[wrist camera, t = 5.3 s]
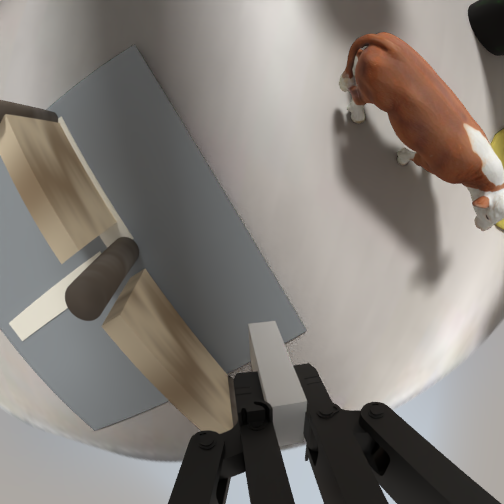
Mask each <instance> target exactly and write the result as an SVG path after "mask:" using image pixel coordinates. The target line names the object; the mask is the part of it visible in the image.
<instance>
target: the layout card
mask: <svg viewBox="0 0 504 504" xmlns="http://www.w3.org/2000/svg"><path fill="white" fill-rule="evenodd" d="M46 110H48V111H52V112H55V113H56V114H57V116H58V123H60V125H61V127H62V129H63V131H64V133H65V135H66V136H67V138H68V140H69V142H70V144H71V146H72V147H73V149H74V151H75V153H76V155H77V156H78V158H79V160H80V162H81V164H82V165H83V167H84V169H85V171H86V172H87V174H88V176H89V177H90V179H91V181H92V182H93V184H94V186H95V187H96V189H97V191H98V192H99V194H100V196H101V197H102V199H103V201H104V202H105V204H106V206H107V207H108V209H109V210H110V212H111V213H112V215H113V217H114V218H115V220H116V221H117V223H115V224H114V225H112V226H111V227H110V228H108V229H107V230H106V231H104V232H103V233H102V234H100V235H99V236H98V237H96V238H95V239H94V240H92V241H91V242H90V243H88V244H87V245H86V246H84V247H83V248H82V249H81V250H79V251H78V252H77V253H75V254H74V255H73V256H72V257H70V258H69V259H68V260H66V261H65V262H64V263H63V264H61V263H60V261H59V260H58V258H57V257H56V255H55V254H54V252H53V251H52V249H51V247H50V246H49V244H48V243H47V241H46V239H45V238H44V236H43V235H42V233H41V231H40V230H39V228H38V226H37V225H36V223H35V221H34V219H33V218H32V216H31V214H30V212H29V211H28V209H27V207H26V205H25V203H24V202H23V200H22V198H21V196H20V194H19V192H18V190H17V188H16V186H15V184H14V182H13V181H12V179H11V176H10V174H9V172H8V170H7V168H6V166H5V164H4V162H3V160H2V158H1V155H0V329H1V330H2V332H3V333H4V334H5V336H6V337H7V338H8V340H9V341H10V342H11V343H12V345H13V346H14V347H15V349H16V350H17V351H18V352H19V354H20V355H21V356H22V357H23V358H24V360H25V361H26V362H27V363H28V364H29V365H30V367H31V368H32V369H33V370H34V371H35V372H36V373H37V375H38V376H39V377H40V378H41V379H42V380H43V381H44V382H45V383H46V384H47V386H48V387H49V388H50V389H51V390H52V391H53V392H54V393H55V394H56V395H57V396H58V397H59V398H60V399H61V400H62V401H63V402H64V403H65V404H66V405H67V406H68V407H69V408H70V409H71V410H72V411H73V412H74V413H75V414H77V415H78V416H79V417H80V418H81V419H82V420H83V421H84V422H85V423H86V424H88V425H89V426H90V427H91V428H92V429H93V430H94V431H95V430H98V429H100V428H103V427H106V426H109V425H111V424H114V423H116V422H119V421H122V420H124V419H127V418H129V417H132V416H134V415H137V414H139V413H142V412H144V411H146V410H149V409H151V408H154V407H156V406H158V405H161V404H163V403H165V402H168V401H169V400H168V399H167V398H166V397H165V396H164V395H163V394H162V393H161V392H160V391H159V390H158V389H157V388H156V387H155V386H154V385H153V384H152V383H151V382H150V381H149V380H148V379H147V378H146V377H145V376H144V375H143V374H142V373H141V372H140V370H139V369H138V368H137V367H136V366H135V365H134V364H133V363H132V362H131V361H130V359H129V358H128V357H127V356H126V355H125V354H124V353H123V352H122V350H121V349H120V348H119V347H118V346H117V345H116V343H115V342H114V341H113V340H112V339H111V337H110V336H109V335H108V334H107V333H106V331H105V330H104V329H103V328H102V324H103V322H104V321H105V319H106V317H107V316H108V314H109V312H110V310H111V309H112V307H113V305H114V304H115V302H116V300H117V299H118V297H119V295H120V294H121V292H122V290H123V289H124V287H125V285H126V284H127V282H128V281H129V279H130V278H131V277H132V276H134V275H135V274H137V273H139V272H140V271H142V270H143V269H146V270H147V272H148V273H149V274H150V276H151V277H152V279H153V280H154V281H155V283H156V284H157V286H158V287H159V288H160V290H161V291H162V292H163V294H164V295H165V297H166V298H167V299H168V301H169V302H170V303H171V305H172V306H173V307H174V309H175V310H176V311H177V313H178V314H179V315H180V317H181V318H182V319H183V320H184V322H185V323H186V324H187V326H188V327H189V328H190V329H191V331H192V332H193V333H194V335H195V336H196V337H197V338H198V340H199V341H200V342H201V343H202V345H203V346H204V347H205V348H206V350H207V351H208V352H209V353H210V354H211V356H212V357H213V358H214V359H215V361H216V362H217V363H218V364H219V365H220V366H221V368H222V369H223V370H224V371H225V372H226V374H227V373H229V372H231V371H233V370H235V369H237V368H239V367H241V366H243V365H245V364H247V363H249V362H251V359H250V344H249V329H248V324H250V323H260V322H269V321H275V322H276V324H277V327H278V329H279V332H280V334H281V337H282V339H283V342H284V343H286V342H288V341H290V340H291V339H293V338H295V337H297V336H299V335H300V334H302V333H304V332H306V331H307V330H306V328H305V327H304V325H303V323H302V322H301V320H300V318H299V317H298V315H297V313H296V311H295V310H294V308H293V306H292V305H291V303H290V301H289V300H288V298H287V296H286V295H285V293H284V291H283V290H282V288H281V286H280V284H279V283H278V281H277V279H276V278H275V276H274V274H273V273H272V271H271V269H270V268H269V266H268V264H267V263H266V261H265V259H264V258H263V256H262V254H261V252H260V251H259V249H258V247H257V246H256V244H255V242H254V241H253V239H252V237H251V236H250V234H249V232H248V231H247V229H246V227H245V226H244V224H243V222H242V221H241V219H240V217H239V216H238V214H237V212H236V211H235V209H234V207H233V206H232V204H231V202H230V201H229V199H228V197H227V196H226V194H225V192H224V191H223V189H222V187H221V186H220V184H219V182H218V181H217V179H216V177H215V176H214V174H213V172H212V171H211V169H210V167H209V166H208V164H207V162H206V161H205V159H204V157H203V156H202V154H201V152H200V151H199V149H198V147H197V146H196V144H195V142H194V141H193V139H192V138H191V136H190V134H189V133H188V131H187V129H186V128H185V126H184V124H183V123H182V121H181V119H180V118H179V116H178V114H177V113H176V111H175V110H174V108H173V106H172V105H171V103H170V101H169V100H168V98H167V96H166V95H165V93H164V91H163V90H162V88H161V87H160V85H159V83H158V82H157V80H156V78H155V77H154V75H153V73H152V72H151V70H150V69H149V67H148V65H147V64H146V62H145V60H144V59H143V57H142V55H141V54H140V52H139V51H138V49H137V47H136V46H135V44H134V45H133V46H131V47H129V48H128V49H126V50H125V51H123V52H122V53H120V54H119V55H117V56H115V57H114V58H112V59H111V60H110V61H108V62H107V63H105V64H104V65H102V66H101V67H99V68H98V69H97V70H95V71H94V72H92V73H91V74H90V75H88V76H87V77H86V78H84V79H83V80H82V81H80V82H79V83H78V84H77V85H75V86H74V87H73V88H71V89H70V90H69V91H68V92H66V93H65V94H64V95H63V96H62V97H60V98H59V99H58V100H57V101H56V102H55V103H53V104H52V105H51V106H50V107H49V108H48V109H46ZM120 237H129V238H131V239H133V240H134V241H135V242H136V243H137V245H138V248H139V256H138V259H137V260H136V262H135V263H134V265H133V266H132V268H131V269H130V270H129V272H128V273H127V275H126V276H125V278H124V279H123V281H122V282H121V284H120V286H119V287H118V289H117V290H116V292H115V293H114V295H113V296H112V298H111V299H110V301H109V303H108V304H107V306H106V307H105V309H104V310H103V312H102V314H101V315H100V316H99V317H98V318H97V319H95V320H92V321H84V320H81V319H79V318H77V317H76V316H74V315H73V314H72V313H71V312H70V310H69V309H68V307H67V305H66V302H65V292H66V289H67V287H68V286H69V285H70V284H71V283H72V282H73V281H74V280H75V279H76V278H77V277H78V276H79V275H80V274H81V273H82V272H83V271H84V270H85V269H86V268H87V267H88V266H89V265H90V264H91V263H92V262H93V261H94V260H95V259H96V258H97V257H98V256H99V255H100V254H101V253H103V252H104V251H105V250H106V249H107V248H108V247H109V246H110V245H111V244H112V243H113V242H114V241H115V240H117V239H118V238H120Z"/></svg>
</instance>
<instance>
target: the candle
mask: <svg viewBox="0 0 504 504" xmlns="http://www.w3.org/2000/svg"><path fill="white" fill-rule="evenodd" d="M490 145H491V147H492V149H493V151H494V152H495V154H496V155H497V156H498V158H499V159H500V161H501V163H502V166H503V169H504V129H502V130H501V131H499V132H498V133H497V134H495V136H494V138H493V140H492V142H491V144H490ZM496 226H498V227H500V228H501V229H503V230H504V219H502V220H501V221H499V222H497V223H496Z"/></svg>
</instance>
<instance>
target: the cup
mask: <svg viewBox="0 0 504 504" xmlns="http://www.w3.org/2000/svg"><path fill="white" fill-rule="evenodd" d="M468 16H469V21H470V24H471V26H472V29H473V31H474V33H475V35H476V36H477V38H478V40H479V41H480V42H481V44H482V45H483V46H484V47H485V48H486V49H487V50H488V51H489V52H491V53H492V54H494V55H504V0H478V1H477V2H475V3H473V4H471V5H470V7H469V9H468Z"/></svg>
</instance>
